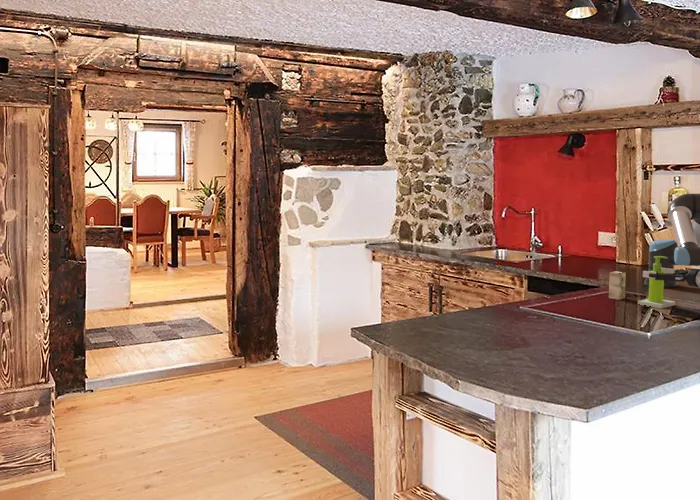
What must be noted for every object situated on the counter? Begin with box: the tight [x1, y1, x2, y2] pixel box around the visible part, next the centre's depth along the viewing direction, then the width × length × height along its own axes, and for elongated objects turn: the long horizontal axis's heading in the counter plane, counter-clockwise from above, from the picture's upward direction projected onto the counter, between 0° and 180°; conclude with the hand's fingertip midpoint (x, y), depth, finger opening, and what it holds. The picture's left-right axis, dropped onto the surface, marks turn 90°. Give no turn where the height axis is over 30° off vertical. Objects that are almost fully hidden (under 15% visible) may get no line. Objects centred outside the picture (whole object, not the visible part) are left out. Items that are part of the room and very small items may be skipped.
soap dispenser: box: [647, 256, 667, 302], centre depth 292 cm, size 6×7×20 cm
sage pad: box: [637, 298, 676, 309], centre depth 293 cm, size 11×11×2 cm
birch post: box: [608, 270, 627, 301], centre depth 308 cm, size 5×5×12 cm
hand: (652, 272), depth 293 cm, fingers open, 13 cm apart
